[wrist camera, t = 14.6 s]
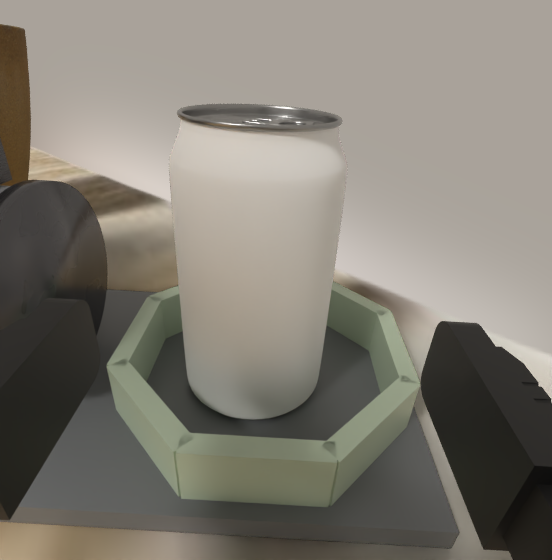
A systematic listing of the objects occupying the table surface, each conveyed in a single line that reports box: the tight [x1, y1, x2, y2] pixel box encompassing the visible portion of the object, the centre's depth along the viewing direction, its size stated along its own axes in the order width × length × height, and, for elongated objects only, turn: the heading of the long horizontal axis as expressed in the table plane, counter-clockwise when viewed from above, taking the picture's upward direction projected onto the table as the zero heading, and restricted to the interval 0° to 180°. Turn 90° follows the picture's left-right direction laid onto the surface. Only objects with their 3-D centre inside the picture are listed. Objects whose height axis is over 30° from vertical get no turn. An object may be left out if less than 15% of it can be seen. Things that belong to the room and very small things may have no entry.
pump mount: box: [0, 281, 459, 548], centre depth 19 cm, size 24×14×4 cm, turn 88°
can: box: [169, 104, 347, 420], centre depth 16 cm, size 6×6×12 cm
